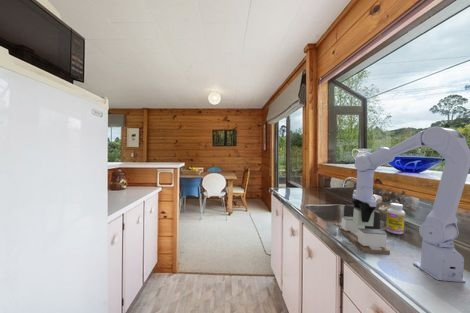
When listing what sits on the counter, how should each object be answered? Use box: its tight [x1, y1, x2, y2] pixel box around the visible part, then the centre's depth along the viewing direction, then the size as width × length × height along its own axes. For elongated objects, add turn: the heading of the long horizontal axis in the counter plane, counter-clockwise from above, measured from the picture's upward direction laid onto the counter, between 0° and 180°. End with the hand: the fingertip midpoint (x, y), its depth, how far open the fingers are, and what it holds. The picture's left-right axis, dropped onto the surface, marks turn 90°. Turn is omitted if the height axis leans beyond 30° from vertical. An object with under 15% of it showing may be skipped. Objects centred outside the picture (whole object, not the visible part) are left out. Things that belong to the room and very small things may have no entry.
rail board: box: [338, 226, 391, 255], centre depth 90 cm, size 22×9×2 cm, turn 177°
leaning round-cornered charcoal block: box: [343, 204, 382, 230], centre depth 107 cm, size 16×5×9 cm, turn 39°
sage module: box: [353, 207, 374, 226], centre depth 90 cm, size 4×6×6 cm, turn 87°
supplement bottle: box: [385, 202, 406, 235], centre depth 102 cm, size 7×7×13 cm
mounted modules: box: [341, 215, 388, 248], centre depth 90 cm, size 19×8×5 cm, turn 177°
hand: (362, 220), depth 90 cm, fingers closed on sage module, 4 cm apart
